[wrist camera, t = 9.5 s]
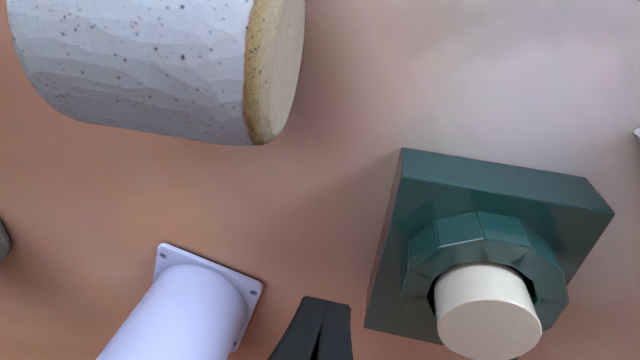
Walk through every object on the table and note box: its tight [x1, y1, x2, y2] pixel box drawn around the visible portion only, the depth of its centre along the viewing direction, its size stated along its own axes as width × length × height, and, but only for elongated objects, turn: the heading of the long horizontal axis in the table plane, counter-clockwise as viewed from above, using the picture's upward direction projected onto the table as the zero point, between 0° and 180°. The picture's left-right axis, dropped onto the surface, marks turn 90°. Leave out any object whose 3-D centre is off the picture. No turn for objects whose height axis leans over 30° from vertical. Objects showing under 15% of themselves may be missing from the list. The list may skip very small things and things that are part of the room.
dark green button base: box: [364, 148, 615, 360], centre depth 19 cm, size 11×9×5 cm
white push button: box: [433, 261, 542, 360], centre depth 16 cm, size 4×4×2 cm
